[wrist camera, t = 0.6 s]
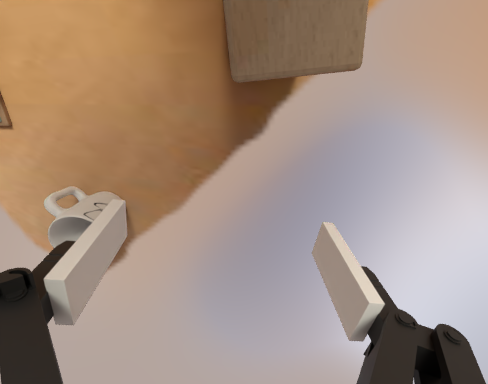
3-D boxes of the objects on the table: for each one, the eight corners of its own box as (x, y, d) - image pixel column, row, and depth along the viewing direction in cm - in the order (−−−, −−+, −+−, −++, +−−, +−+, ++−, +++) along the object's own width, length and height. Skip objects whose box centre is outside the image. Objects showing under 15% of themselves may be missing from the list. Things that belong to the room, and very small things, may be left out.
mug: (58, 193, 44) (14, 226, 35) (87, 163, 42) (48, 189, 33) (113, 233, 48) (86, 271, 39) (142, 207, 46) (121, 241, 37)
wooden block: (231, 74, 37) (232, 83, 19) (222, -12, 32) (212, -104, 15) (299, 67, 37) (364, 69, 19) (300, -20, 32) (385, -123, 15)
